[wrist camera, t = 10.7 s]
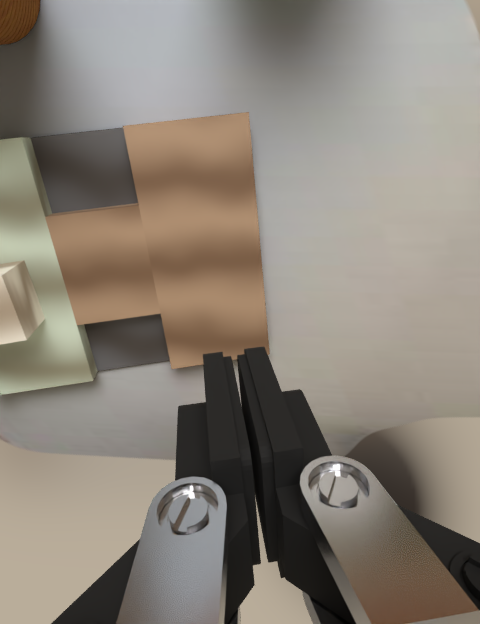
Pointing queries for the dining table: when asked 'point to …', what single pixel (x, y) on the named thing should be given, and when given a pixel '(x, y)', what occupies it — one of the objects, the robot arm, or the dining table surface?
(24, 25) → the disposable coffee cup
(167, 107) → the dining table surface
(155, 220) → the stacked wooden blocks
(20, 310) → the block
